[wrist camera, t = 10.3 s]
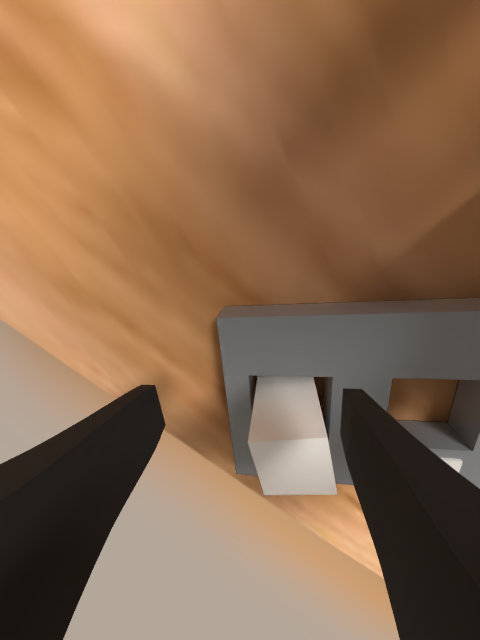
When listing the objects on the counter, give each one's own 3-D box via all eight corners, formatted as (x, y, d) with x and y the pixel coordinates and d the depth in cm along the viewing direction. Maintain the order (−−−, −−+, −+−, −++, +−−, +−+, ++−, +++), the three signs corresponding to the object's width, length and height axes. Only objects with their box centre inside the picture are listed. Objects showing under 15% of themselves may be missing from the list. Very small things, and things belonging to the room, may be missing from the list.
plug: (309, 362, 18) (327, 437, 11) (317, 404, 19) (337, 494, 12) (258, 369, 19) (247, 442, 12) (269, 409, 20) (264, 495, 13)
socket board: (517, 296, 14) (569, 310, 11) (460, 465, 19) (488, 501, 16) (224, 306, 17) (215, 319, 15) (240, 448, 22) (235, 476, 19)
